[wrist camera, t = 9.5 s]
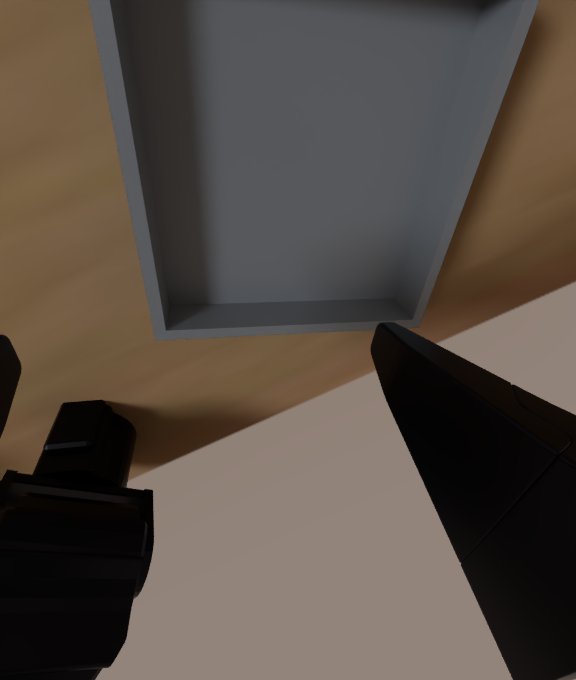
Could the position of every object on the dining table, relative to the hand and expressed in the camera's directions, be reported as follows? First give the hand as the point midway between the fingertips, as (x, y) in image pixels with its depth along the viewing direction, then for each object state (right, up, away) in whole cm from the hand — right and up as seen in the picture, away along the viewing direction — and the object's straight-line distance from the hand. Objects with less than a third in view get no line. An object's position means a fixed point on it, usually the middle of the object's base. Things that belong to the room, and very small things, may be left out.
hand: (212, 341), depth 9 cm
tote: (+2, +9, +9) cm, 13 cm away
